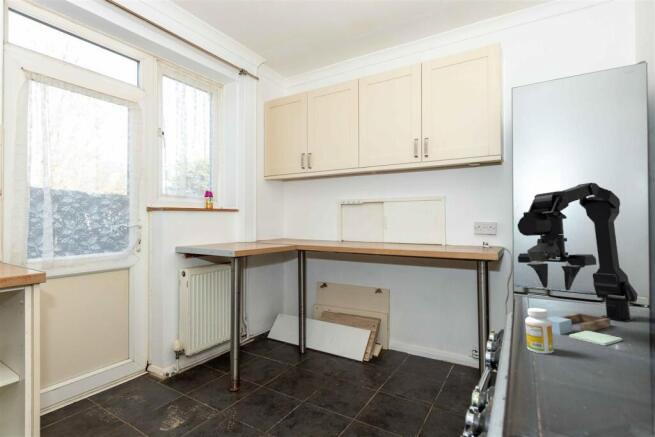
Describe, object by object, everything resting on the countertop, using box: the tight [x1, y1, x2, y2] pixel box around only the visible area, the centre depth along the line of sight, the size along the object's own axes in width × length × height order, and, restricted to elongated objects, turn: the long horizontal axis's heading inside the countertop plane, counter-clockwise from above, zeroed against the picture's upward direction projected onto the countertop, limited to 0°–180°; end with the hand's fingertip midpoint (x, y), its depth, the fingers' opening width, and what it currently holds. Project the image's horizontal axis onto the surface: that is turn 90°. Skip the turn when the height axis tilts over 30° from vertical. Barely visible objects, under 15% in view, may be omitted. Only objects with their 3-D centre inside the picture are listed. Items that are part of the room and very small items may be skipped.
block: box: [546, 316, 573, 336], centre depth 92 cm, size 6×4×4 cm
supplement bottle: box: [524, 307, 555, 355], centre depth 78 cm, size 5×5×10 cm
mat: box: [568, 331, 623, 346], centre depth 85 cm, size 8×8×1 cm
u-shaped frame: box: [560, 312, 612, 332], centre depth 96 cm, size 13×8×2 cm, turn 114°
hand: (556, 288), depth 93 cm, fingers open, 6 cm apart
